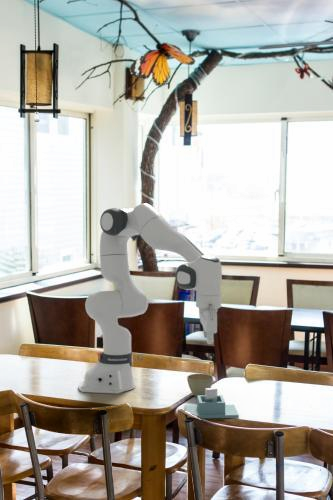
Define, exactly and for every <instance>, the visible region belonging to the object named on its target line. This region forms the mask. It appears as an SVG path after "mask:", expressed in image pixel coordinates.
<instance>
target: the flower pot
mask: <svg viewBox="0 0 333 500" xmlns="http://www.w3.org/2000/svg"><path fill="white" fill-rule="evenodd" d="M186 379H187V384H188V387H189V389H190V392H191V394H192V395H193V396H194V397H196V396H197V395H205V389H206V388H212V385H213V382H214V376H213V375H212V374H209V373H191V374H189V375H187V376H186Z"/></svg>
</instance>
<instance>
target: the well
mask: <svg viewBox="0 0 333 500" xmlns="http://www.w3.org/2000/svg"><path fill="white" fill-rule="evenodd" d="M196 402H197V403H196V404H189V405H188V404H187V405H186V404H185V405H184V411H185V410H186V411H188V412H190V413H192V414H194V415H195V416H197V417H200V418H199V419H230V418H231V419H239V413H238V410H237V408H236V406H235V404H226V400H225V398H224V397H223V394H217V402H205V395H197V397H196Z"/></svg>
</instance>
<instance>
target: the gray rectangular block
mask: <svg viewBox="0 0 333 500" xmlns="http://www.w3.org/2000/svg"><path fill="white" fill-rule="evenodd" d="M217 395H218V388H217V387H211V388H206V389H205V402H217Z"/></svg>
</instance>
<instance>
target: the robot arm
mask: <svg viewBox="0 0 333 500" xmlns="http://www.w3.org/2000/svg"><path fill="white" fill-rule="evenodd" d="M99 220H100V221H99V224H100V228H101V230H102V232H101V234H100V240H99V260H100V261H99V262H100V264H99V265H100V274H101V277H103V279H105V280H106V281H107V282H111V283H112V285H114V288H115V290H103V291H97V292H94V293H90V294H88V296H87V297H86V300H85V303H84V306H85V312H86V313H87V315H88V316H89V318H91V319H93V321H95V322H96V323H97V325H98V326H99V328H100V330H101V335H102V344H103V347H102V349H103V351H102V350H100V351H98V353H97V356H98V357H97V359H98V361H97V363H95V364H93V365H92V366H91V367H90V368H88V369H87V371H86V373H85V374H84V378H83V379H84V380H83V381H81V382H80V383H79V384H78V390H79V391H80V392H82V393H97V394H121V393H124V392H128V391H130V390H133V389H135V388H136V384H135V379H134V375H133V362H134V361H133V359H134V358H133V351H132V334H131V332H130V331H129V329H128V328H127V327H124V326H122V325H120V324H119V322H118V319H122V318H133V317H137V316H139V315H143V314H145V313H146V311H147V310H148V307H149V299H148V296H147V294H146V293H145V292H144V291H143V289H141V288H139V287H138V286H137V285H136V284H135V281H133V278H132V276H131V272H130V265H129V255H128V254H129V253H128V241H129V240H130V239H132V240H136V239H137V238H138V237H141V238H142V240H144V242H145V243H146V244H147V245H148V246H149V247H151V248H152V249H155V250H159V251H166V252H172V253H175V254H178V255H179V256H182V257H183V258H184V260H186V263H183V264H180V265H179V266H178V267H177V268H176V271H175V276H174V277H175V282H176V284H177V286H178V287H179V288H180V289H182V290H185V291H189V290H190V291H191V290H192V291H193V290H195V291H196V293H195V294H196V295H195V296H196V297H195V306H196V308H198V315H199V322H200V324H201V325H202V330H203V337H204V339H206V343H207V345H213V343H214V341H213V339H214V336H215V335H214V334H217V333H218V313H217V312H218V310H219V309H220V308H221V307H222V291H221V290H222V288H221V285H222V282H223V272H222V271H223V270H222V269H223V268H222V263H221V260H220V259H219V258H218V257H217V256H215V255H210V254H209V255H208V254H204V253H203V252H202V251H201V250H200V249H199V248H198V247H197V246H196V245H195V244H194V243H193V242H192V241H191V240H190V239H189V238H187V236H185V235H184V234H182V233H181V232H180V231H178V230H177V229H176V228H174V227H173V226H172V225H171V224H170V223H169V222H168V221H167V220H166V219H165V217H164V216H163V215H162V214H161V213H160V212H159V211H158V210H157V209H156V208H154V207H153V206H152V205H151V204H149V203H139V204H137V205H136V206H135V207H134V208H131V207H125V208H124V207H123V208H122V207H121V208H120V207H119V208H117V207H113V208H107V209H106V210H104V211H103V212H102V214H101V216H100V219H99Z"/></svg>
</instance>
